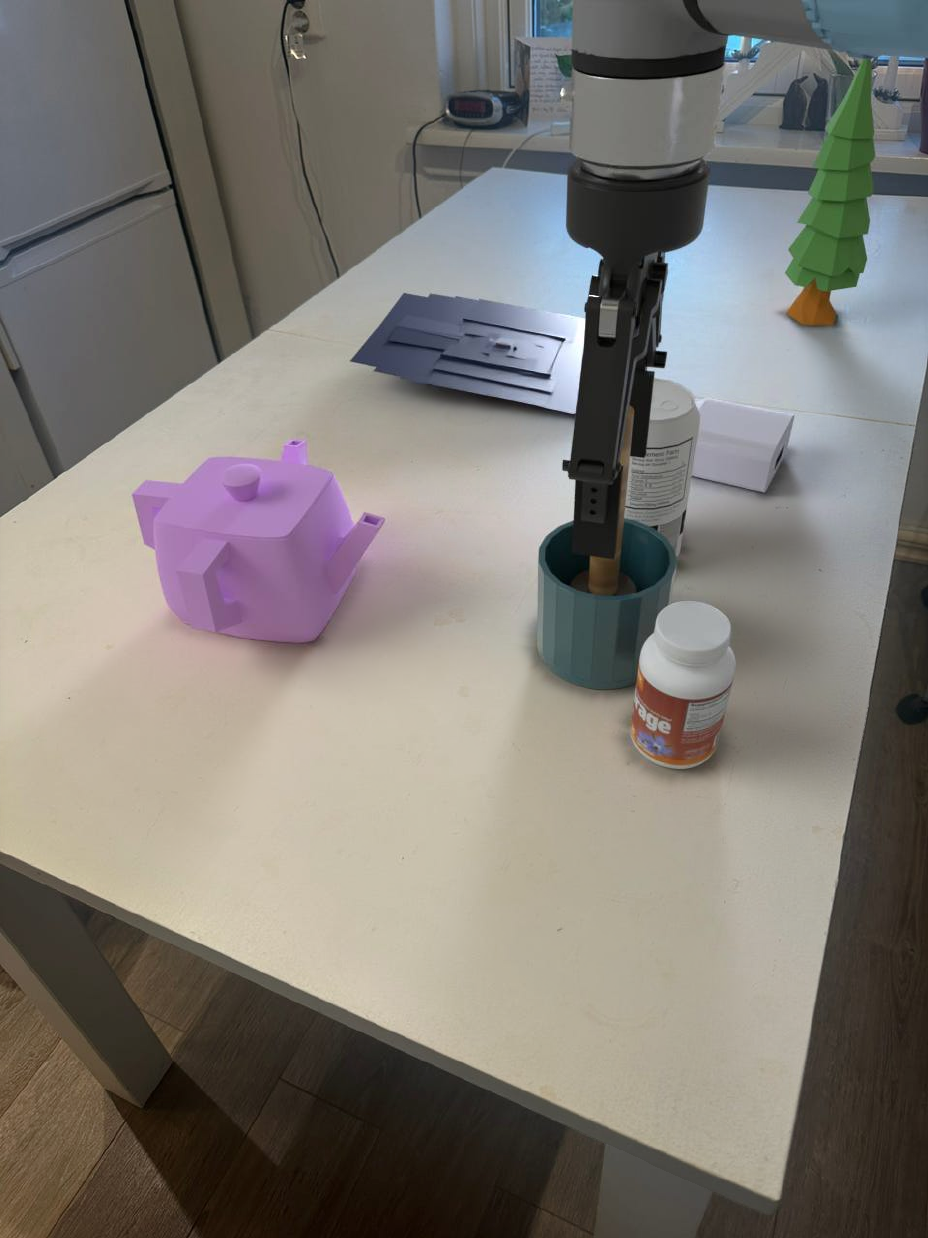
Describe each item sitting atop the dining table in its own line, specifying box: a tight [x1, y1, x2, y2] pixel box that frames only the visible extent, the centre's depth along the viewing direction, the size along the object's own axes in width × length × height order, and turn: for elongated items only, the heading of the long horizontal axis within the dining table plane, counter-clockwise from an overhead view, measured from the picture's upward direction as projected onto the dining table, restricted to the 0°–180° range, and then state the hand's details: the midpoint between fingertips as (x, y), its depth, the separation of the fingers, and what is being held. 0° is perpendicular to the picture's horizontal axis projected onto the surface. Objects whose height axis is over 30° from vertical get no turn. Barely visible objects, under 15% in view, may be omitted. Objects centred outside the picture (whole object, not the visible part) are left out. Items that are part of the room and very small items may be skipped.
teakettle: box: [131, 438, 386, 644], centre depth 73 cm, size 17×17×12 cm
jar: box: [536, 518, 678, 690], centre depth 67 cm, size 10×10×9 cm
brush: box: [570, 405, 636, 596], centre depth 63 cm, size 5×5×20 cm
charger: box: [692, 397, 795, 493], centre depth 88 cm, size 5×9×15 cm
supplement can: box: [624, 377, 701, 558], centre depth 74 cm, size 8×8×15 cm
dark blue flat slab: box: [349, 292, 585, 415], centre depth 107 cm, size 24×30×4 cm
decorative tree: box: [784, 59, 877, 327], centre depth 103 cm, size 10×9×30 cm
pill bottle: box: [629, 600, 737, 770], centre depth 59 cm, size 6×6×11 cm
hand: (611, 499), depth 61 cm, fingers open, 12 cm apart
